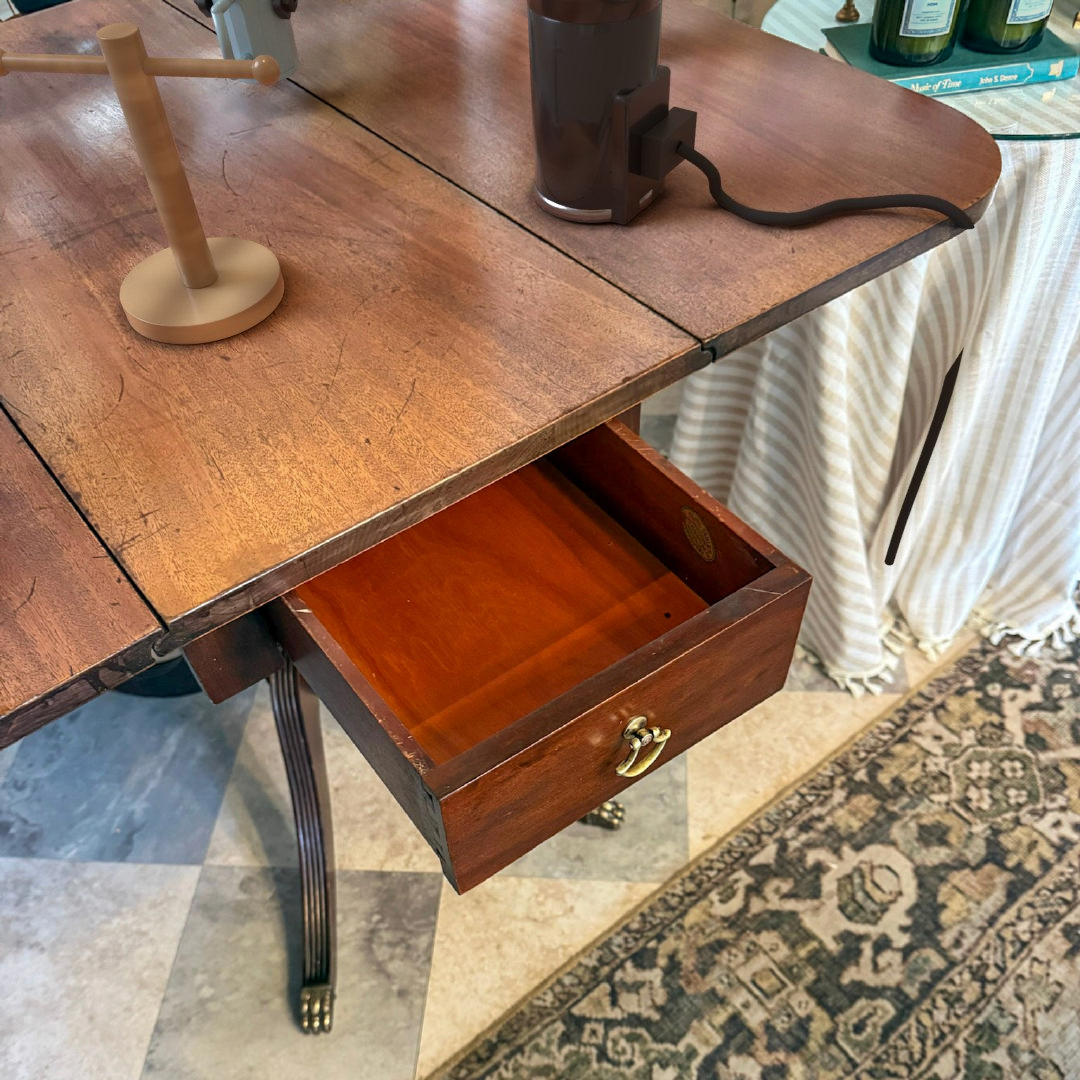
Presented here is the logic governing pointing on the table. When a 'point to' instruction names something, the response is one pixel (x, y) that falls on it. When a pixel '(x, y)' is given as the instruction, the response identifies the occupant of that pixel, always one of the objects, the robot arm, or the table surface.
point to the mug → (255, 34)
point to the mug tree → (175, 199)
